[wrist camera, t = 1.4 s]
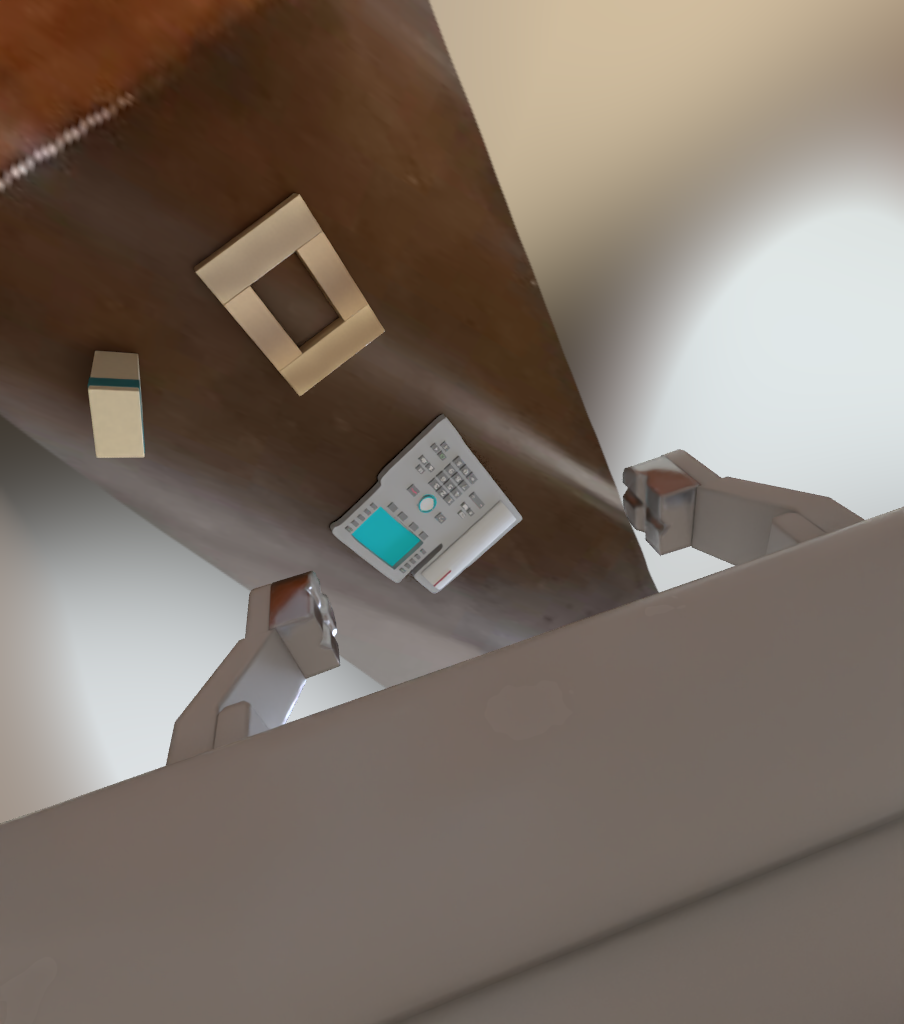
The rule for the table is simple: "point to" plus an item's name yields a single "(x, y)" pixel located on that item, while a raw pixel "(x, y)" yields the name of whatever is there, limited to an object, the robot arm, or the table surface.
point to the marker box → (116, 405)
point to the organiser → (302, 234)
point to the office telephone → (428, 511)
